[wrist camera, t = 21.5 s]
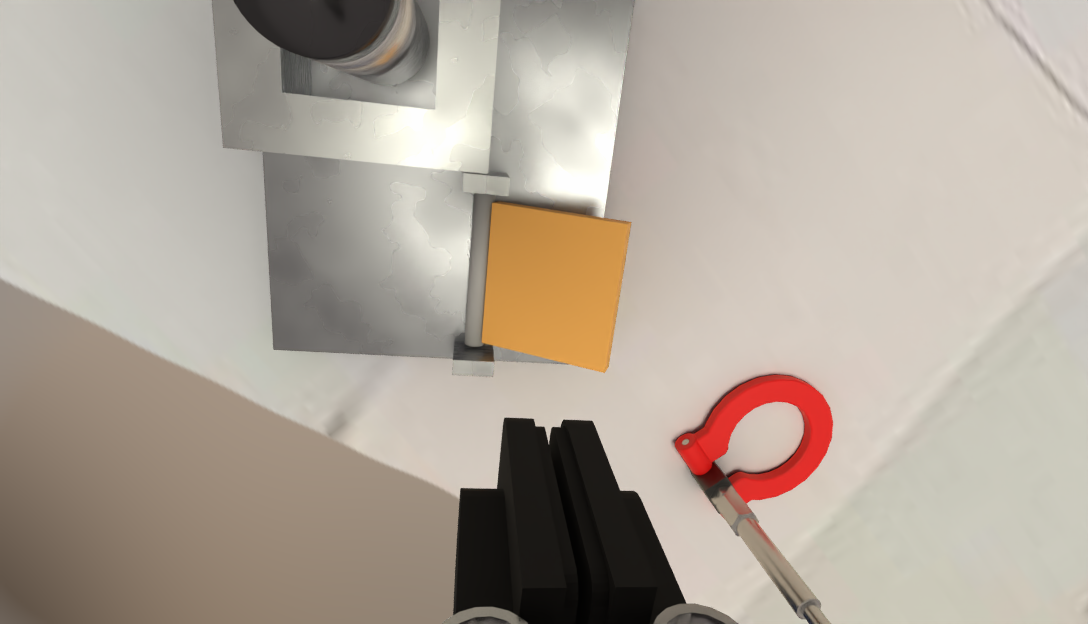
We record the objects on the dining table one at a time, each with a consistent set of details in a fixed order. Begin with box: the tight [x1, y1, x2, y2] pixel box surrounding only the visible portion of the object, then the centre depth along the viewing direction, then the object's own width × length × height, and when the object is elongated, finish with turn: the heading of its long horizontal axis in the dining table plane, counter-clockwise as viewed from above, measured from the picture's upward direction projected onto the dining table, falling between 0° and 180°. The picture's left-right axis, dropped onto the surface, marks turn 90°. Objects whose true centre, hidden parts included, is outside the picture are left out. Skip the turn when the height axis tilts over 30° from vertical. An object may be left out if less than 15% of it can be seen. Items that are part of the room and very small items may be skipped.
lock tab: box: [464, 193, 631, 373], centre depth 26 cm, size 8×1×8 cm
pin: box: [233, 0, 429, 85], centre depth 18 cm, size 4×4×11 cm
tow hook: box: [675, 375, 833, 624], centre depth 28 cm, size 8×13×9 cm
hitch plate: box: [212, 0, 634, 377], centre depth 24 cm, size 22×16×5 cm
